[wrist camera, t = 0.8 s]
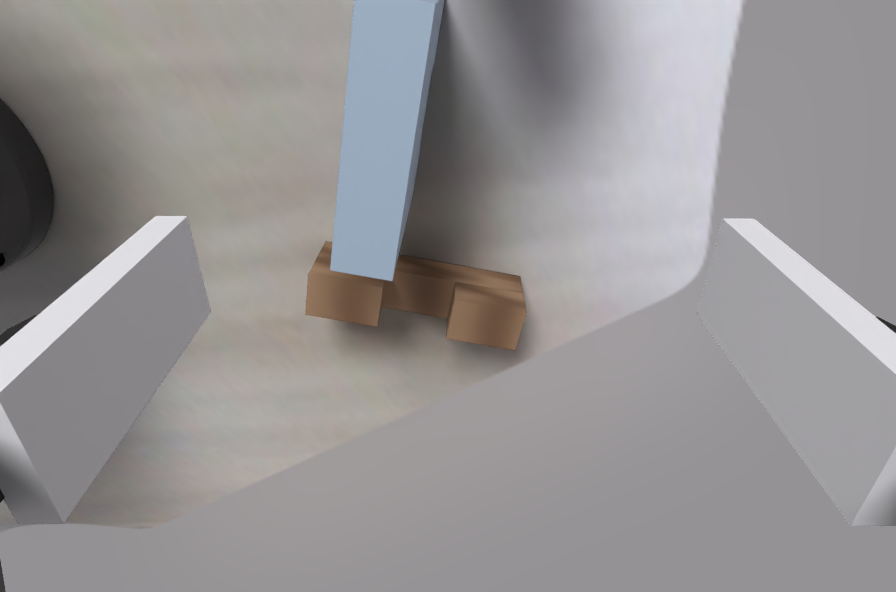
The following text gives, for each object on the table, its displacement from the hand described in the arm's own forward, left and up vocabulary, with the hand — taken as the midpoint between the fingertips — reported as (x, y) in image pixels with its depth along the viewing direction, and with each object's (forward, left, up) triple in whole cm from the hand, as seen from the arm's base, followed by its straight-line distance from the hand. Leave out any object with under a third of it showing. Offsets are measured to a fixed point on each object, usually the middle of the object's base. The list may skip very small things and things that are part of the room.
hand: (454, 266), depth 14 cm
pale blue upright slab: (-3, -1, -23) cm, 23 cm away
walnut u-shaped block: (0, -13, -23) cm, 26 cm away
